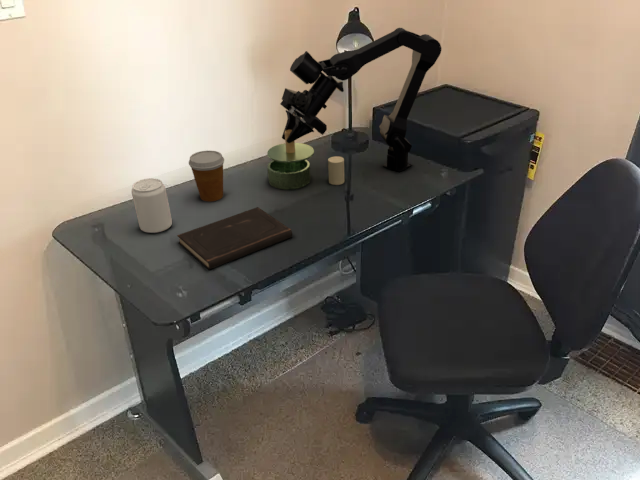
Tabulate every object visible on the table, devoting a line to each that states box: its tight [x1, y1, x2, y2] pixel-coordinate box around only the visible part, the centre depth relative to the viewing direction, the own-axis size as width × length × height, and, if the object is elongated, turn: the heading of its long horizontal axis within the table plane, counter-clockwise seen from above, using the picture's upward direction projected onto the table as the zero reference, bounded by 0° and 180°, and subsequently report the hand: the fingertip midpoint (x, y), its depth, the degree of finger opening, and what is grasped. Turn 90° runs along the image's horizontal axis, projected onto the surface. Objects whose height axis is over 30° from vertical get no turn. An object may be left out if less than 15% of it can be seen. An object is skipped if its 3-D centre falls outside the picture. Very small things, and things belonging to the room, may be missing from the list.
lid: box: [266, 130, 315, 163], centre depth 172 cm, size 13×13×7 cm
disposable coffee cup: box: [188, 150, 225, 202], centre depth 168 cm, size 10×10×12 cm
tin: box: [266, 159, 312, 191], centre depth 179 cm, size 12×12×5 cm
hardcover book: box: [177, 206, 293, 271], centre depth 151 cm, size 16×23×2 cm
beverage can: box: [131, 177, 173, 234], centre depth 154 cm, size 8×8×12 cm
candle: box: [327, 155, 345, 186], centre depth 177 cm, size 5×5×7 cm
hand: (285, 140), depth 170 cm, fingers closed on lid, 2 cm apart
